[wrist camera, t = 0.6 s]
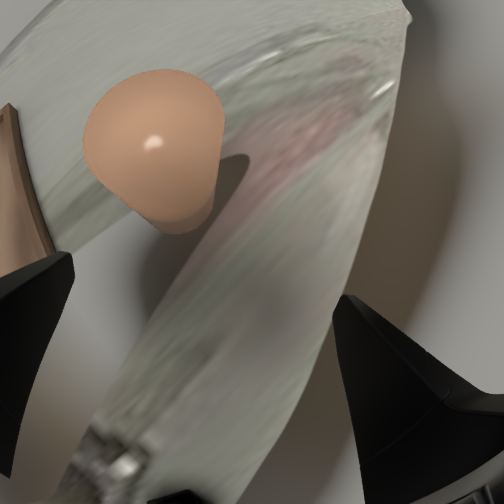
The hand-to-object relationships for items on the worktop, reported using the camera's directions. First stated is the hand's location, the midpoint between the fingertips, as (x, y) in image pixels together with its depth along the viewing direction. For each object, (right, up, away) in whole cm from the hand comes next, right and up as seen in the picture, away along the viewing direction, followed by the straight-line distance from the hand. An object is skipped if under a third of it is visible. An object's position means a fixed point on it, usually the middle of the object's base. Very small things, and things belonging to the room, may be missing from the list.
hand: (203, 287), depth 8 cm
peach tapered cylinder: (-5, +6, +14) cm, 15 cm away
